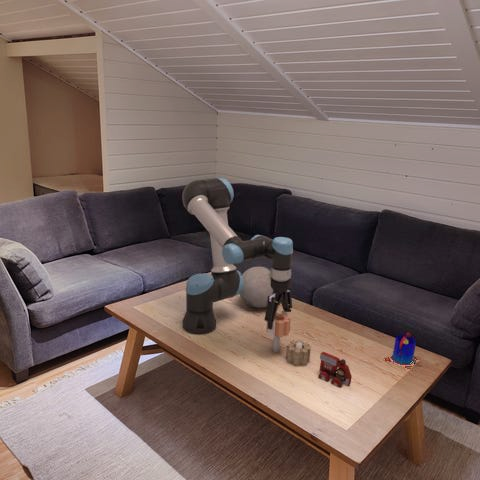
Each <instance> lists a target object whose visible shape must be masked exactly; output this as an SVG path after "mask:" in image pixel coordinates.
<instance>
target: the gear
mask: <svg viewBox="0 0 480 480" xmlns="http://www.w3.org/2000/svg"><path fill="white" fill-rule="evenodd" d="M297 342H301V343H302V349H296V343H297ZM311 347H312V346H310V343H309V342H304V341H303V340H300V339H298V340H296V341H295V340H294V339H293V340H290V341H289V342H287V344H286V355H285V359H286V361H287V363H288V364H292V365H293V366H295V367H299V366H302V367H305V366H307V365H308V363H310V359H311V350H312V349H311Z"/></svg>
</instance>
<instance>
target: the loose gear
mask: <svg viewBox="0 0 480 480" xmlns="http://www.w3.org/2000/svg"><path fill="white" fill-rule="evenodd" d="M274 321H275V334H274V336H278V337H280V338H283V337H287V336H290V335H289V334H290V333H291V316H288V317H287V315H286V314H282V313H279V312H276V316H275V319H274ZM266 333H267V334H268V322H267V321H266Z"/></svg>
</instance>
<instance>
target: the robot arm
mask: <svg viewBox="0 0 480 480" xmlns="http://www.w3.org/2000/svg"><path fill="white" fill-rule="evenodd" d="M234 196H235V195H234V188H233V186H232V184H231V183H230V182H229V181H228V179H226V178H222V177H219V178H217V177H215V178H206V179H205V178H204V179H195V180H193V181H190V182H188V184H186V186H185V187H184V189H183V192H182V196H181V197H182V204H183V206H184V208H185V209H186V210H187V212H188V213H189V214H190V215H194V216H195V217H196V218H197V220H198V221H199V222H200V224H202V226H203V227H204V228H205V229H206V231H207V232H208V233H209V238H210V245H211V247H210V248H211V255H212V262H213V267H212V268H211V270H210V272H211V273H205V272H204V273H196V274H193V275H191V276H190V277H189V278H188V279H187V281H186V286H185V291H186V292H185V293H186V294H185V297H186V298H185V301H186V305H185V307H186V309H185V310H186V311H185V313H184V317H183V319H182V324H181V325H182V329H183V330H184V331H185V332H187V333H188V334H192V335H207V334H209V333H211V332H214V331H215V330H216V328H217V319H216V317H215V313H214V309H213V308H214V303H215V302H217V303H218V302H221V301H223V300H226V299H232V298H234V297H237V296H238V295H239V296H240V292H241V291H242V289H243V277H242V273H241V271H239V270H237V269H238V268H237V267H236V266H235V265H236V264H241V263H243V262H248V261H253V260H256V259H257V260H258V259H261V258H266V259H267V260H271V267H270V268H271V269H270V270H271V277H272V278H271V288H272V289H273V293H272V296H268V302H267V306H266V309H265V313H264V314H265V315H264V321H265V322H266V323H267V322H268V333H267V336H269V337H272V338H274V334H275V321H274V319H275V316H276V313H278V309H279V306H280V305H281V306H282V310H281V314H286V315H287V317H289V314H290V313H292V309H293V297H292V290H293V287H292V286H291V282H292V281H291V276H292V265H293V264H292V263H293V262H292V261H293V253H294V248H293V246H294V244H293V243H294V242H293V240H292V239H291V238H289V237H284V236H278V237H277V236H276V237H275V238H273V239H272V238H271V237H267V236H265V235H262V234H261V235H260V234H256V235H253V237H252V238H251V239H250V240H249V239H248V240H242V239H241V238H240V237H239V236H238V235H237V234H236V232H235V231H234V230H233V228H231V227H230V226H229V220H228V210H230V204H231V203H232V202H233V199H234Z"/></svg>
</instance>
